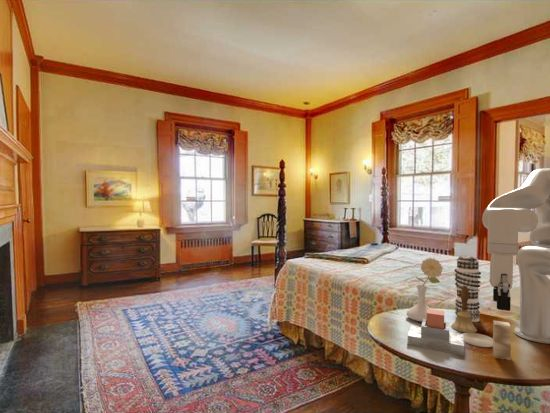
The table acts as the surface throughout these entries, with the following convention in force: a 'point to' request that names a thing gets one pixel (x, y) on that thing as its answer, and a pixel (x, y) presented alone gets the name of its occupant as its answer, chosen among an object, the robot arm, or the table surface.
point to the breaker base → (436, 338)
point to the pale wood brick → (502, 340)
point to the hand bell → (464, 315)
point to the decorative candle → (468, 285)
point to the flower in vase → (432, 270)
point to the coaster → (478, 339)
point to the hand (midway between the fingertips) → (501, 305)
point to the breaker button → (435, 318)
